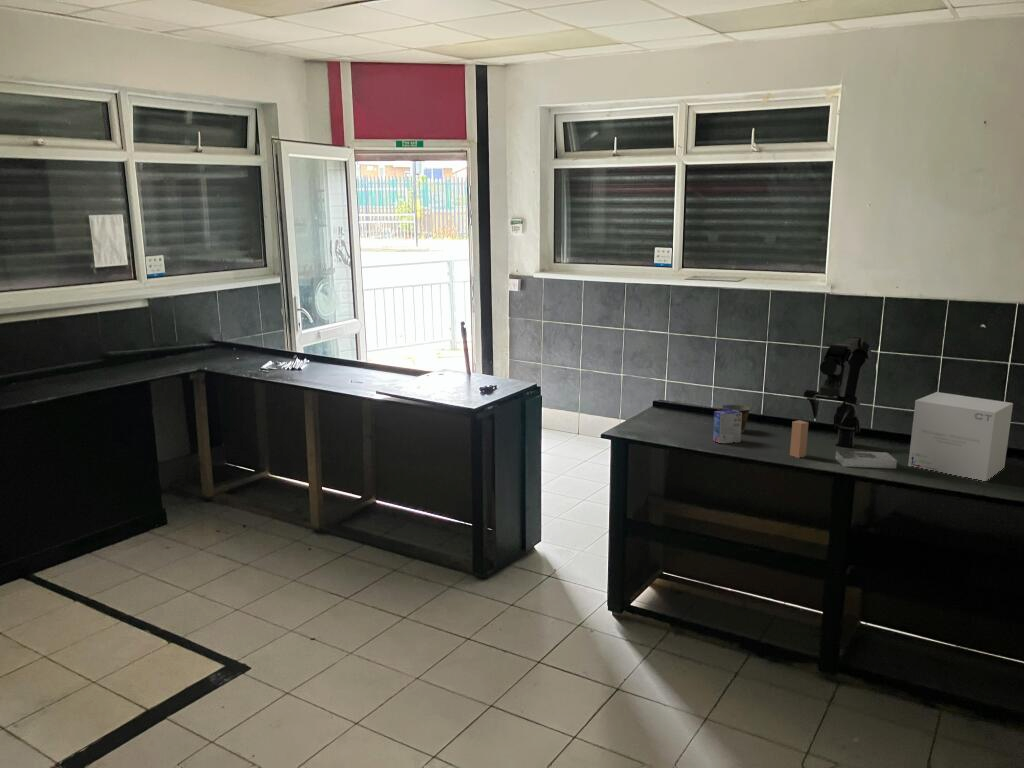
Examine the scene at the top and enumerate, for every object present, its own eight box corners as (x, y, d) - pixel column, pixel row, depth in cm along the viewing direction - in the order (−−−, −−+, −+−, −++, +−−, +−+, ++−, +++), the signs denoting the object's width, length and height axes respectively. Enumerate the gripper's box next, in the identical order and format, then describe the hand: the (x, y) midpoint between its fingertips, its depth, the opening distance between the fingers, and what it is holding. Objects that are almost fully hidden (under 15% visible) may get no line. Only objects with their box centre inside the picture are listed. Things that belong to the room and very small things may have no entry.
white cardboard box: (908, 467, 287) (915, 400, 282) (929, 455, 302) (936, 391, 297) (985, 483, 270) (994, 412, 265) (1003, 470, 284) (1013, 403, 280)
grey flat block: (835, 458, 295) (836, 450, 295) (886, 460, 293) (887, 452, 293) (843, 466, 286) (844, 458, 285) (896, 468, 284) (896, 460, 283)
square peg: (796, 453, 301) (799, 420, 298) (805, 456, 298) (808, 422, 295) (789, 455, 299) (792, 421, 296) (798, 458, 295) (801, 423, 293)
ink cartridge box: (733, 438, 321) (736, 403, 318) (741, 442, 316) (743, 406, 313) (711, 440, 318) (713, 405, 315) (719, 444, 313) (721, 408, 310)
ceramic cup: (746, 428, 337) (747, 405, 336) (749, 434, 328) (751, 410, 326) (714, 427, 339) (716, 404, 337) (717, 433, 330) (718, 409, 328)
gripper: (802, 372, 291) (795, 415, 291) (855, 379, 280) (848, 423, 279) (811, 376, 300) (804, 417, 300) (863, 383, 288) (856, 425, 288)
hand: (827, 420), depth 291 cm, fingers open, 9 cm apart
